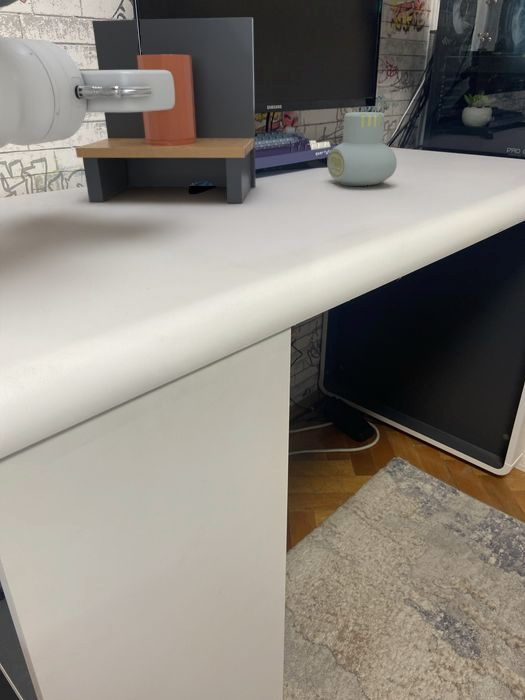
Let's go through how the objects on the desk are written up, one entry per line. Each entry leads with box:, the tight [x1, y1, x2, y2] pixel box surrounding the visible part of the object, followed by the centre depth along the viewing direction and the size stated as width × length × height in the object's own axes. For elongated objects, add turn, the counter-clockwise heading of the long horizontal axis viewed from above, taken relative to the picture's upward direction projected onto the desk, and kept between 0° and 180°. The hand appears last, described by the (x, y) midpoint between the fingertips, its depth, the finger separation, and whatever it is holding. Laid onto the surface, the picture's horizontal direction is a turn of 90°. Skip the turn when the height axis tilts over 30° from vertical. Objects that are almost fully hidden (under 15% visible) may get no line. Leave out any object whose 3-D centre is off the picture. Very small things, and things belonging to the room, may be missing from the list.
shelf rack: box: [75, 16, 257, 204], centre depth 72 cm, size 22×13×22 cm, turn 85°
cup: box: [136, 55, 196, 146], centre depth 71 cm, size 7×7×10 cm
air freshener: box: [326, 111, 398, 187], centre depth 81 cm, size 11×8×10 cm
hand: (122, 89), depth 62 cm, fingers open, 8 cm apart
